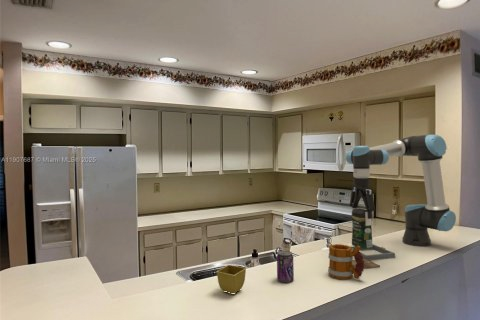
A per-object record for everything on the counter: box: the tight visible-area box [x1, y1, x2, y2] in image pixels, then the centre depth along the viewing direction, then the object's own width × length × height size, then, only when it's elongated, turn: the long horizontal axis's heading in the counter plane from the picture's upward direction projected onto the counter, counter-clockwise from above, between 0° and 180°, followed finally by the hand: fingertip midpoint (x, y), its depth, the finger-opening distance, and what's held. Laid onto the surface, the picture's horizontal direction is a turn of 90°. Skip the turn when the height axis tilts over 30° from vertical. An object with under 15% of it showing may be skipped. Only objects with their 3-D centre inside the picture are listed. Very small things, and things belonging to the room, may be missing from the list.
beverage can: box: [276, 250, 295, 283], centre depth 139 cm, size 7×7×12 cm
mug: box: [327, 243, 365, 281], centre depth 142 cm, size 11×16×15 cm, turn 44°
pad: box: [352, 258, 381, 270], centre depth 157 cm, size 11×11×1 cm
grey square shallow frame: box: [350, 244, 396, 261], centre depth 173 cm, size 17×17×3 cm
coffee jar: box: [351, 207, 373, 249], centre depth 157 cm, size 10×8×19 cm
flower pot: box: [216, 264, 247, 294], centre depth 128 cm, size 9×9×9 cm
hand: (361, 223), depth 157 cm, fingers closed on coffee jar, 9 cm apart
